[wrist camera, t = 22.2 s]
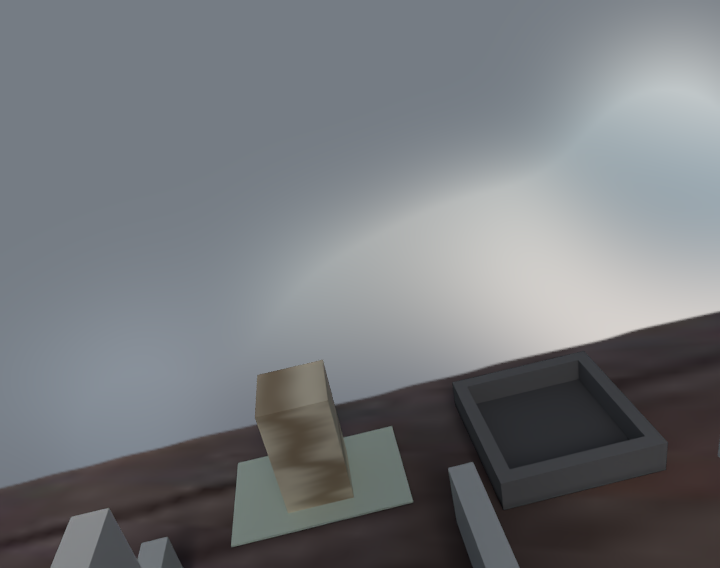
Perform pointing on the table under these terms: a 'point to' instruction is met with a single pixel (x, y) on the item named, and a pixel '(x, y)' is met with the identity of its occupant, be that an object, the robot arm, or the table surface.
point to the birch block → (303, 436)
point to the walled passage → (472, 516)
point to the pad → (371, 494)
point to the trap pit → (555, 430)
